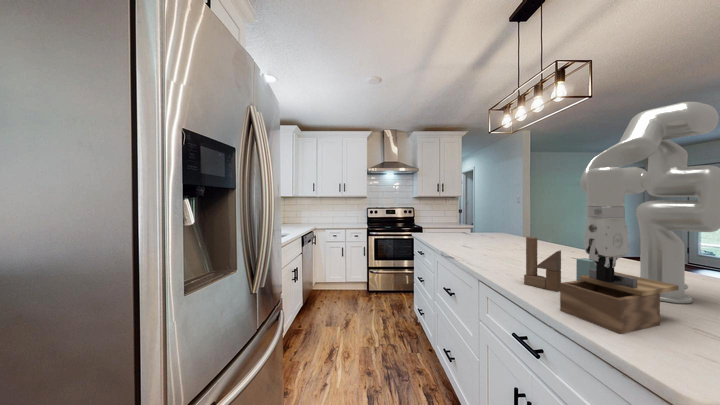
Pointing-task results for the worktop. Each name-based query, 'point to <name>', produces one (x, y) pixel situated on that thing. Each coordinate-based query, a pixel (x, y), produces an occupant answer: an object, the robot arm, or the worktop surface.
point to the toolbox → (609, 306)
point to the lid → (631, 284)
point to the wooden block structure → (550, 264)
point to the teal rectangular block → (584, 267)
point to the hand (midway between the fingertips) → (605, 280)
